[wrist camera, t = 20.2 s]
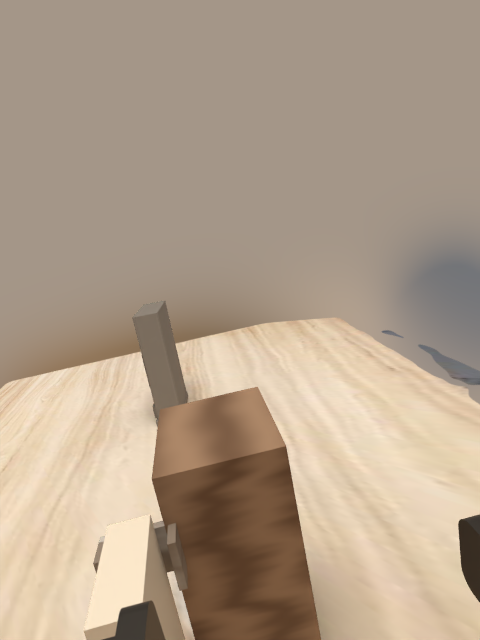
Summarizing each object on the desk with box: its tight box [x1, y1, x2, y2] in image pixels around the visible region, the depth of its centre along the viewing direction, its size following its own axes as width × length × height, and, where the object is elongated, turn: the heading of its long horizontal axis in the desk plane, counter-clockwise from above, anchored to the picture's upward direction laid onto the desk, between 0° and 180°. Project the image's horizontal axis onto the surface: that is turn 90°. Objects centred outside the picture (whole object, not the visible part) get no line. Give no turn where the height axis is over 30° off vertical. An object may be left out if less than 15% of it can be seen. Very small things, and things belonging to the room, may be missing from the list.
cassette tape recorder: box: [133, 301, 188, 426], centre depth 97 cm, size 14×6×25 cm, turn 3°
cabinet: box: [93, 387, 321, 640], centre depth 36 cm, size 15×20×24 cm
